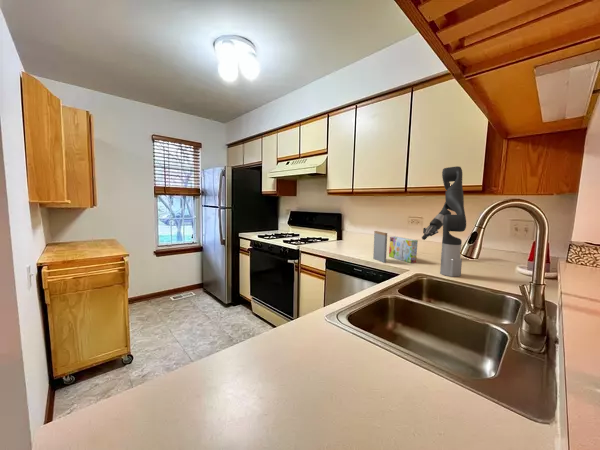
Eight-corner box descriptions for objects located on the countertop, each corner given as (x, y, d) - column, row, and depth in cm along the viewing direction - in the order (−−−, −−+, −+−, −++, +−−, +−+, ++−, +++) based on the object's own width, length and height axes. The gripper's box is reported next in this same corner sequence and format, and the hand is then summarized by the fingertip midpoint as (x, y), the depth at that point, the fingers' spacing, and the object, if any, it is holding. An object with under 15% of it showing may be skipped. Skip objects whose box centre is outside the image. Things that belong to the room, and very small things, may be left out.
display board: (386, 262, 170) (387, 233, 168) (383, 262, 170) (385, 233, 168) (375, 258, 183) (376, 230, 181) (373, 258, 182) (374, 230, 180)
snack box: (416, 262, 172) (418, 240, 171) (410, 263, 170) (411, 240, 169) (394, 256, 192) (395, 235, 190) (388, 256, 190) (389, 236, 188)
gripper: (428, 217, 192) (413, 234, 189) (442, 218, 179) (426, 236, 177) (434, 224, 193) (419, 241, 191) (448, 226, 181) (432, 244, 179)
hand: (423, 239), depth 184 cm, fingers closed
